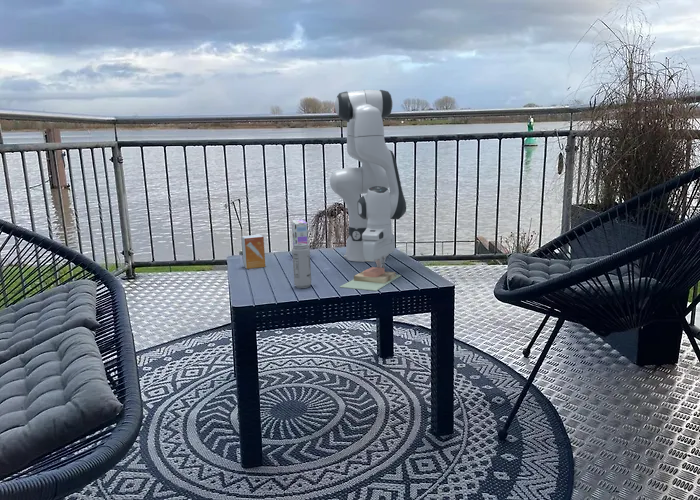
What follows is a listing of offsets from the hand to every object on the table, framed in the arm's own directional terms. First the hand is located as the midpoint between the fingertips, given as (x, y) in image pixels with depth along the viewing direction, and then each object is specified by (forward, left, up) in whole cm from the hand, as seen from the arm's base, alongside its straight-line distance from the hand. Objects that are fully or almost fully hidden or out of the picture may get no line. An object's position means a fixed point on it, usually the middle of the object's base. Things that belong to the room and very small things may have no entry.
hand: (380, 268), depth 192 cm
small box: (+2, -57, -3) cm, 57 cm away
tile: (+5, 0, -1) cm, 5 cm away
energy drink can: (+22, -20, -3) cm, 30 cm away
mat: (+8, 0, -3) cm, 8 cm away
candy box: (-20, -48, -3) cm, 52 cm away
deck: (+5, 0, -3) cm, 6 cm away
